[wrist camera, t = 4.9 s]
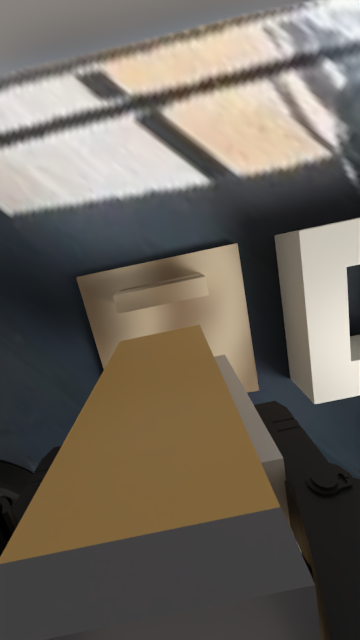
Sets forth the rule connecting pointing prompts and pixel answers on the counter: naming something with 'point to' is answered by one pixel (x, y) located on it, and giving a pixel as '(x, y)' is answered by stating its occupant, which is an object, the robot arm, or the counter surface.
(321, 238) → the port
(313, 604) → the plug
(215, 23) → the counter surface
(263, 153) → the counter surface
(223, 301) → the beige plate with rail
